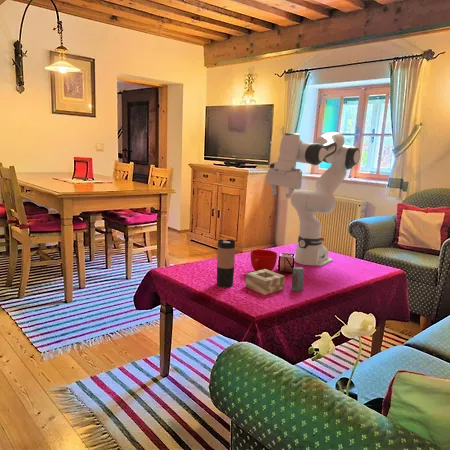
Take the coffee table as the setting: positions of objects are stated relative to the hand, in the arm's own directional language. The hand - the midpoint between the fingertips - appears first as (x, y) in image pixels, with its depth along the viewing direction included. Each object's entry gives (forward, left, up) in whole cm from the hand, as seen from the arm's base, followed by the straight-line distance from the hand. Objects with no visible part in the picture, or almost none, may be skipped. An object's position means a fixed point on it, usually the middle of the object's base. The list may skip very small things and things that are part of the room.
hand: (280, 195), depth 191 cm
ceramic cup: (+7, -3, -38) cm, 39 cm away
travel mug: (+32, -1, -38) cm, 50 cm away
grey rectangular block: (+10, +22, -38) cm, 45 cm away
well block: (+20, +12, -38) cm, 45 cm away
